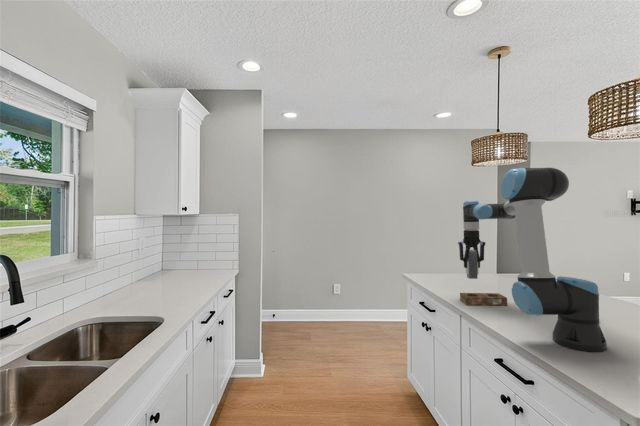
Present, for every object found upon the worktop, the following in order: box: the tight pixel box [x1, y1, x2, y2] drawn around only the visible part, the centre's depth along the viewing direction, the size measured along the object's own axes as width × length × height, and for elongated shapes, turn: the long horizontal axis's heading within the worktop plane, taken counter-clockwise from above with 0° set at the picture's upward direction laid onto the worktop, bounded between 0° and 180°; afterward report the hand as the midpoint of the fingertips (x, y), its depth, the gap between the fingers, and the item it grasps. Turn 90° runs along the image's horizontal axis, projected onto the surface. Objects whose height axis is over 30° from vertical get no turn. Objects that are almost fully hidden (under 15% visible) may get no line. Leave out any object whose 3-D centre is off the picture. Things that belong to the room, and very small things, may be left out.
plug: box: [466, 249, 478, 280], centre depth 171 cm, size 4×4×15 cm
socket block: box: [459, 292, 508, 307], centre depth 170 cm, size 20×10×4 cm, turn 84°
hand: (472, 273), depth 171 cm, fingers closed on plug, 4 cm apart
